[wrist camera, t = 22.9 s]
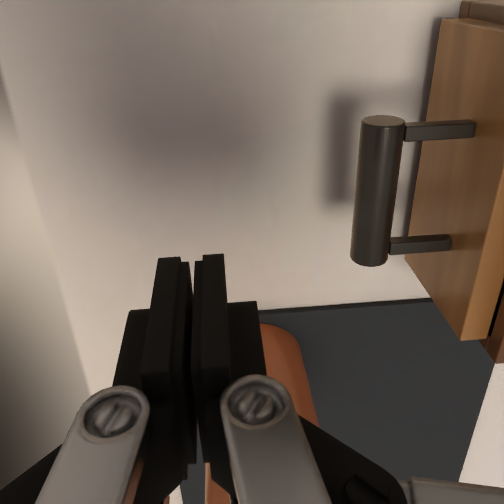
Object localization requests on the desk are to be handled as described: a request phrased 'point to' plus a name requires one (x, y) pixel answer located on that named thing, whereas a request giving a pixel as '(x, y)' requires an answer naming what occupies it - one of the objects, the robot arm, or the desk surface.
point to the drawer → (444, 181)
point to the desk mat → (385, 385)
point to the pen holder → (285, 371)
